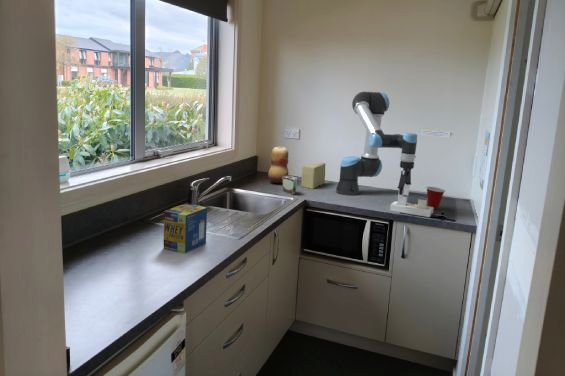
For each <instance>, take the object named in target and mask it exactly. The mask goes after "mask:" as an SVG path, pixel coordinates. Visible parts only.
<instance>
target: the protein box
mask: <svg viewBox="0 0 565 376" xmlns="http://www.w3.org/2000/svg"><path fill="white" fill-rule="evenodd" d="M207 214H208V207H206V206H201V205H196V204H191V203H184V204H181V205H177V206H174V207H172V208H170V209H169V208H168V209H166V210H163V249H164V250H168V251H173V252H178V253H181V254H187V253H189V252H191V251H193V250H194V249H197V248H198V247H200V246H203V245H205V244H206V243H207V223H208V218H207V217H208V215H207Z"/></svg>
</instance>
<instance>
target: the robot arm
mask: <svg viewBox="0 0 565 376" xmlns="http://www.w3.org/2000/svg"><path fill="white" fill-rule="evenodd" d="M351 104H352V105H351V106H352V110H353V112H354V113H355V114H356V115H358V117H359V119H360V120H361V122H362V125H363V126H364V128H365V140H364V148H363V153H362V154H361V155H360V156H355V155H353V156H352V155H351V156H345V157H342V159H341V160H340V168H339V169H340V173H339V180H338V183H337V186H336V188H335V193H337V194H339V195H340V194H341V195H345V196H357V195H360V186H359V183H358V181H359V178H363V177H366V178H368V177H369V178H373V177H374V178H375V177H379V175H380V174H381V172H382V168H383V164H382V163H383V162H382V160H381V159H380V156H379V155H378V152H379V151H378V150H379V148H383V149H384V148H389V149H390V148H391V149H400V150H401V152H400V162H399V168H401V169H403V170H401V171H400V176H399V183H398V186H397V189H398V192H397V194H398V195H397V201H398V200H402V201H403V195H404V194H405V195H408V196H409V195H410V194H409V193H410V186H411V185H412V180H411V179H412V169H414V168H415V160H416V159H415V158H416V157H417V156H416V151H417V144H418V134H417V133H413V132H404V133H403V134H400V133H395V134H386V133H384V132H383V130H382V128H381V125H382V117H383V116H385V112H387V111H389V108H390V100H389V97H388V95H387V94H386V93H385V92H379V91H378V92H377V91H361V92H358V93H357V94H355V96H354V97H353V99H352V103H351Z"/></svg>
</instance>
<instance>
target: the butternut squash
mask: <svg viewBox="0 0 565 376" xmlns="http://www.w3.org/2000/svg"><path fill="white" fill-rule="evenodd" d="M288 164H289V150H288V149H287V148H286V147H284V146H275V147H274V148H272V150H271V155H270V168H269V170H268V173H267V177H268V179H269V181H270V182H272V183H274V184H283V179H282V177H283V176H289V168H288Z"/></svg>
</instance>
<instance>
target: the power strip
mask: <svg viewBox="0 0 565 376" xmlns="http://www.w3.org/2000/svg"><path fill="white" fill-rule="evenodd" d="M417 206H418V204H416V203H410V202H409V203H408V202H407V205H406V206H403V205H398V200H395V201H393V202H392V203H390V207H389V211H391V212H397V213H402V214H403V213H404V214H409V215H415V216H421V217H426V218H431V217H432V215H433V217H438V216H444V217H445V219H446V218H447V215H445V214H439V213H434V210H435V209H434V207H428V205H427V208H426V209H421V208H417ZM444 217H443V218H444Z"/></svg>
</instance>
